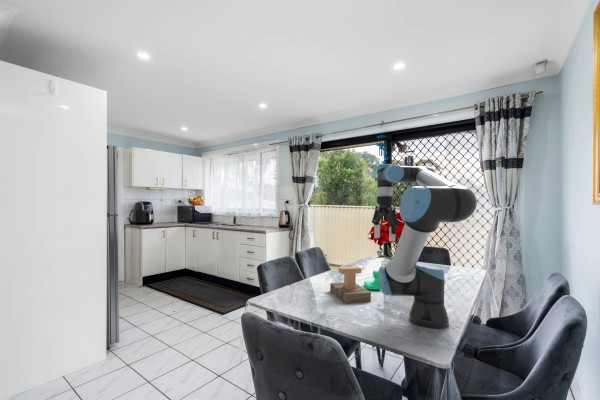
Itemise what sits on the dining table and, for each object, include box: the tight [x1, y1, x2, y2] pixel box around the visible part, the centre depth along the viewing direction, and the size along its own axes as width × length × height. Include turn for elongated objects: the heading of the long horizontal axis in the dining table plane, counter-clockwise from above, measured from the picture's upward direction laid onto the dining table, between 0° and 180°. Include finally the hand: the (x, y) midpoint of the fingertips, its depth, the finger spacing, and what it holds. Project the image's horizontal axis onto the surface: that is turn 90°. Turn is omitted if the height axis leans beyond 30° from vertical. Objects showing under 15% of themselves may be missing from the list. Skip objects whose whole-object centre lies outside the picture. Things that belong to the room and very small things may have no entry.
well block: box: [329, 281, 372, 304], centre depth 151 cm, size 20×14×4 cm
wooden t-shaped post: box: [338, 266, 362, 290], centre depth 151 cm, size 4×11×15 cm, turn 105°
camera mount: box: [363, 270, 381, 290], centre depth 167 cm, size 12×8×10 cm, turn 1°
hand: (384, 239), depth 140 cm, fingers open, 13 cm apart
